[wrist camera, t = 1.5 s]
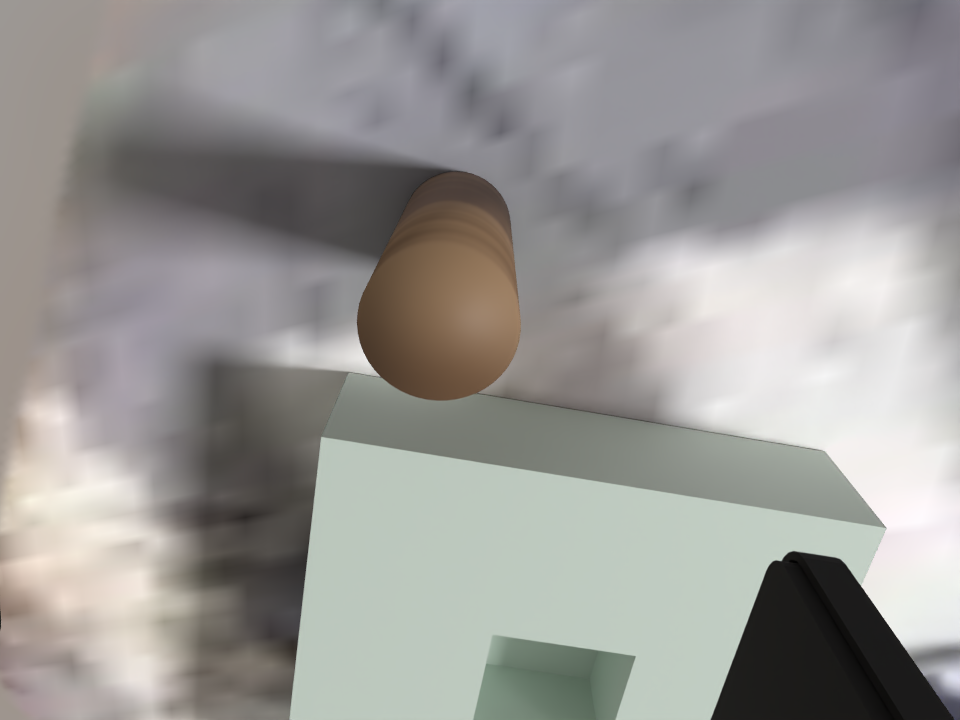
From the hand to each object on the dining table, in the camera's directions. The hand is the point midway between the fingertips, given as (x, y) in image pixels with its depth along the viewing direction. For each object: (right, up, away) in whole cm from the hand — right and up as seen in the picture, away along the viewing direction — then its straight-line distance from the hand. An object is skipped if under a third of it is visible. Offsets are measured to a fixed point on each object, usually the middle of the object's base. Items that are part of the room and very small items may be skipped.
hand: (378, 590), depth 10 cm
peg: (0, +7, +17) cm, 19 cm away
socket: (+4, -7, +23) cm, 24 cm away
